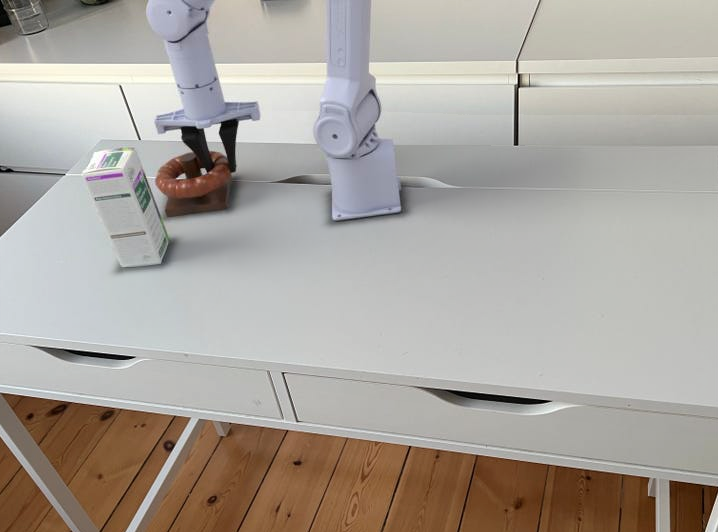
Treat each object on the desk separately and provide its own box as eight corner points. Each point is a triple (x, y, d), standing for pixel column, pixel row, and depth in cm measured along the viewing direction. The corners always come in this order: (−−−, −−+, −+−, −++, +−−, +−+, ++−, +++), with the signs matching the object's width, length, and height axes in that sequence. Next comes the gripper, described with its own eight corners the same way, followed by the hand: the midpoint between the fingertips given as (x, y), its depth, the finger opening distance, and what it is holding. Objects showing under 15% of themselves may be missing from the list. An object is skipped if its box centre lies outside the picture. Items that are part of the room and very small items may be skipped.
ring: (237, 158, 118) (232, 143, 116) (229, 195, 110) (224, 179, 108) (166, 168, 119) (160, 153, 117) (153, 206, 110) (147, 190, 109)
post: (232, 178, 119) (221, 138, 115) (227, 209, 112) (215, 167, 108) (175, 186, 119) (162, 146, 115) (166, 217, 113) (152, 176, 108)
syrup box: (162, 264, 103) (126, 166, 94) (119, 268, 104) (79, 172, 94) (170, 241, 108) (137, 145, 98) (129, 245, 108) (92, 150, 98)
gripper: (139, 99, 102) (169, 191, 111) (247, 84, 101) (269, 177, 110) (148, 78, 107) (176, 167, 116) (251, 64, 106) (272, 154, 115)
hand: (222, 171), depth 113 cm, fingers closed on ring, 3 cm apart
